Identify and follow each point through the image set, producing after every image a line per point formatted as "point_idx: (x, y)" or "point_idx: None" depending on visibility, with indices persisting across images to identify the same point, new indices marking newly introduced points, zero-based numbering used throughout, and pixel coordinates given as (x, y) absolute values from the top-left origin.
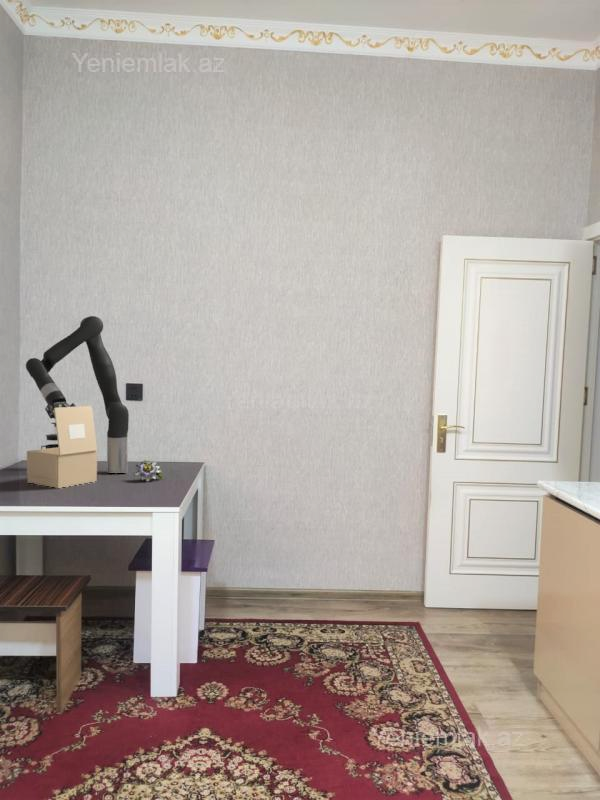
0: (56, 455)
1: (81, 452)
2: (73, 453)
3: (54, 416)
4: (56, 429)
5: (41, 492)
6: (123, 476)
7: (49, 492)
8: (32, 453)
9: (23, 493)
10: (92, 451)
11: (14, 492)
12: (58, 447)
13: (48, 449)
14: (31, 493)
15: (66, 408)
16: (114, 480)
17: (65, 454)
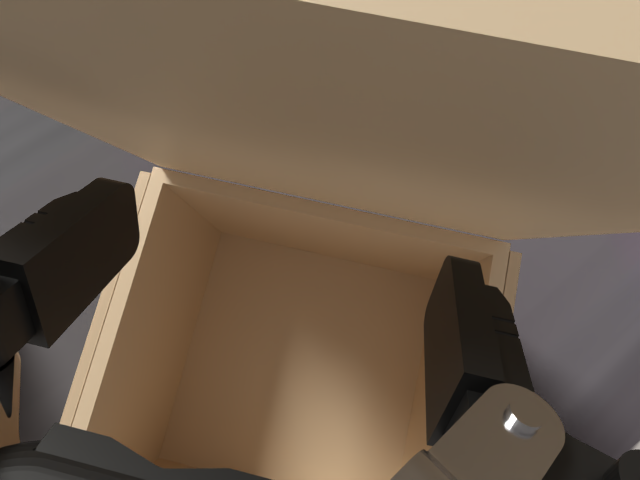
0: (520, 253)
1: (295, 197)
2: (369, 213)
3: (579, 460)
4: (633, 229)
5: (549, 286)
6: (32, 197)
7: (531, 252)
8: None
9: (610, 347)
10: (194, 176)
11: (615, 407)
12: (527, 237)
13: None
14: (591, 312)
15: (613, 24)
16: (149, 172)
17: (442, 230)
